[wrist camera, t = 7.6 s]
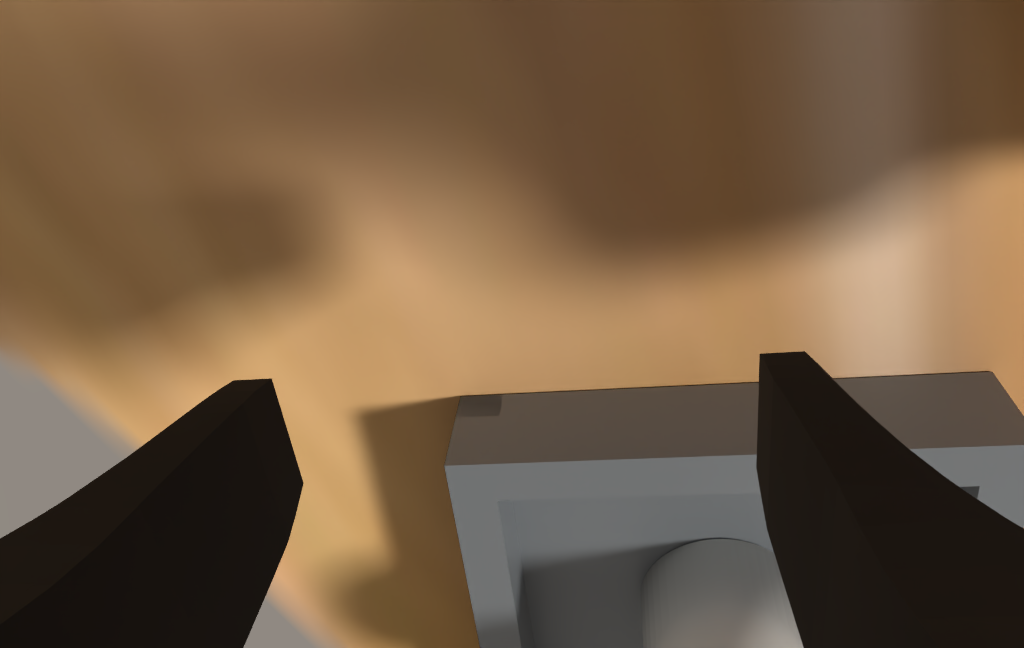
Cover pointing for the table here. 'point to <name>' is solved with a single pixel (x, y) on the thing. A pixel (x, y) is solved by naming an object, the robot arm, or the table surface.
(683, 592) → the cylinder
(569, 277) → the table surface
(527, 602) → the tray
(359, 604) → the table surface
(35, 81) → the table surface
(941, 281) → the table surface
